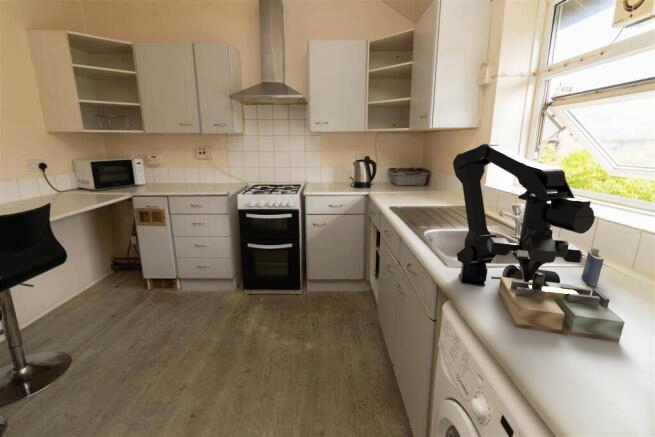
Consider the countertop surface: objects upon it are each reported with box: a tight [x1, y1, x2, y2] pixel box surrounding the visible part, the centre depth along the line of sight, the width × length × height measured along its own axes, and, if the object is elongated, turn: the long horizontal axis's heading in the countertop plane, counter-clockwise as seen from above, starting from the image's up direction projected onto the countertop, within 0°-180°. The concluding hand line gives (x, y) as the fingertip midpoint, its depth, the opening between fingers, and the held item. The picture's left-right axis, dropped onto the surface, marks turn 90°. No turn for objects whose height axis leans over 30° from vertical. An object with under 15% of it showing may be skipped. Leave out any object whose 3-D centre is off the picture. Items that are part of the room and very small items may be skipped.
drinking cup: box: [490, 264, 561, 287], centre depth 90 cm, size 8×8×20 cm
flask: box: [581, 247, 605, 288], centre depth 95 cm, size 9×3×11 cm, turn 151°
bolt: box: [528, 272, 578, 300], centre depth 76 cm, size 10×2×5 cm, turn 75°
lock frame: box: [497, 276, 626, 343], centre depth 77 cm, size 20×17×7 cm
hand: (525, 281), depth 78 cm, fingers closed
